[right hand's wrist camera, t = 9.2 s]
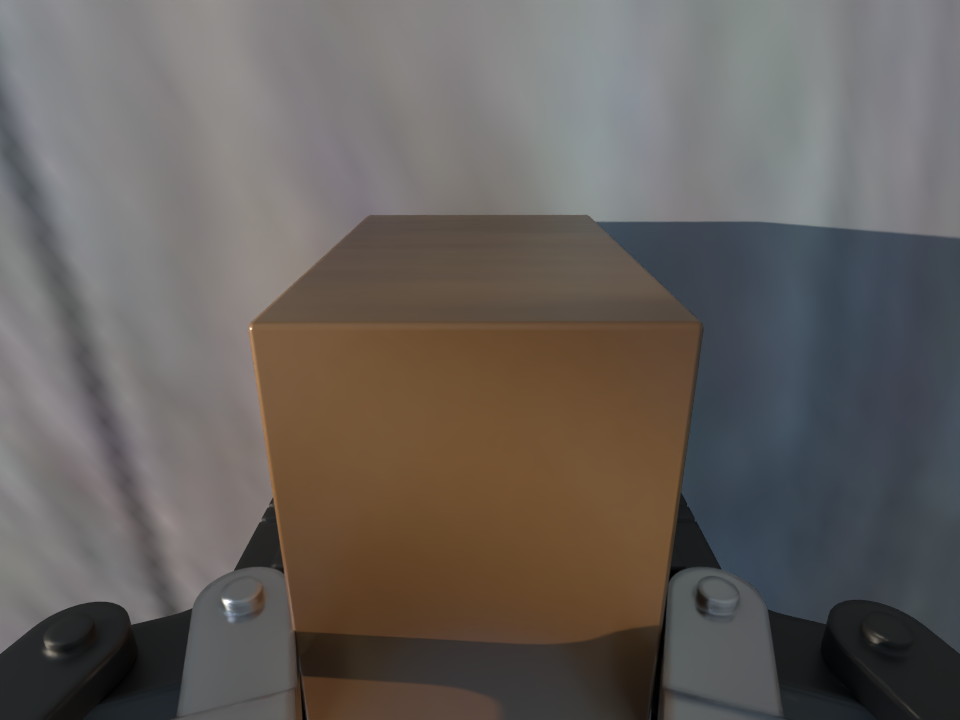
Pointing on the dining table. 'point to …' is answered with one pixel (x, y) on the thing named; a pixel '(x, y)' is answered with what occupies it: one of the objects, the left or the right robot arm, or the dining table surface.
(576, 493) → the bar
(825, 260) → the dining table surface
